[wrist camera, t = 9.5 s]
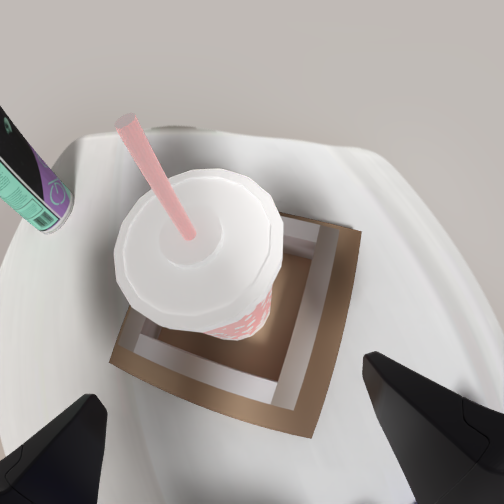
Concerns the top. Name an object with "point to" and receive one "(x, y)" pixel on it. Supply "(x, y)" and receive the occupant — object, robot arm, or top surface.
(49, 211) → the spray can
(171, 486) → the top surface
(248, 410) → the cup holder board
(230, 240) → the beverage cup
